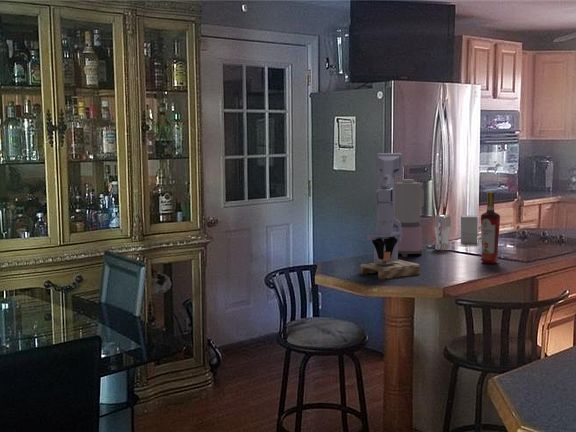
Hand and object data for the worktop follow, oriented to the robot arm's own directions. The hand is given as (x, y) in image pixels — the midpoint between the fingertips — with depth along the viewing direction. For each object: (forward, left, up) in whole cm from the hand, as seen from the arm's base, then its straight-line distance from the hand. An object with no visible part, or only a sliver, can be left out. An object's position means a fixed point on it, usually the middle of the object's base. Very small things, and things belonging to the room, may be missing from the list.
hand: (384, 258), depth 258 cm
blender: (-30, +37, -6) cm, 48 cm away
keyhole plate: (0, +3, -6) cm, 6 cm away
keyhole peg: (0, 0, -5) cm, 5 cm away
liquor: (+4, +49, -6) cm, 49 cm away
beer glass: (-32, +56, -6) cm, 65 cm away
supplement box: (-40, +80, -6) cm, 89 cm away
